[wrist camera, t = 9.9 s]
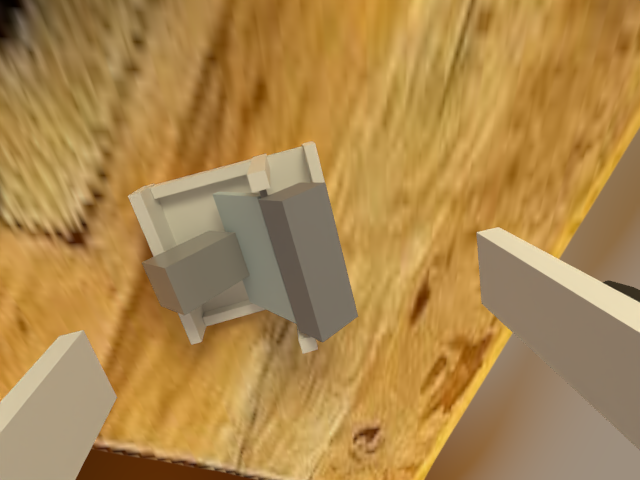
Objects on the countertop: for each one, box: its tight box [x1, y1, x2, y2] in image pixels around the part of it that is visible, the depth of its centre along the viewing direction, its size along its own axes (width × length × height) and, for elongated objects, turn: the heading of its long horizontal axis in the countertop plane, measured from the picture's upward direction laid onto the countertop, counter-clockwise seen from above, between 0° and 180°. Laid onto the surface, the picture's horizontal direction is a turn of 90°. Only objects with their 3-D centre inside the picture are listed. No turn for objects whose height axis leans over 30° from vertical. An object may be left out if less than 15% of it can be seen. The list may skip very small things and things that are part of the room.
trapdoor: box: [212, 182, 358, 342], centre depth 38 cm, size 13×14×4 cm
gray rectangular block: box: [142, 230, 250, 315], centre depth 40 cm, size 5×5×8 cm
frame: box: [128, 141, 325, 354], centre depth 40 cm, size 18×20×12 cm
